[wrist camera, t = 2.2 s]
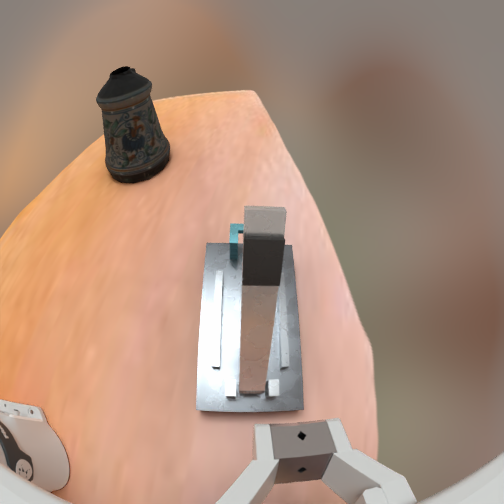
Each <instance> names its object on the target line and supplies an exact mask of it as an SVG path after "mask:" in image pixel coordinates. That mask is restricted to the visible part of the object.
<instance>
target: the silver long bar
mask: <svg viewBox="0 0 504 504" xmlns="http://www.w3.org/2000/svg"><path fill="white" fill-rule="evenodd" d="M285 222H286V210H285V207H265V206H244V233H243V261H242V293H241V327H240V366H239V394H260V393H264V392H265V384H266V378H267V371H268V364H269V357H270V349H271V342H272V335H273V327H274V319H275V311H276V303H277V295H278V287H279V286H280V281H281V273H282V264H283V255H284V246H285V239H284V232H285Z"/></svg>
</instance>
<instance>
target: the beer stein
mask: <svg viewBox="0 0 504 504" xmlns="http://www.w3.org/2000/svg"><path fill="white" fill-rule="evenodd" d="M151 89H152V83H151V81H149V80H148V79H147V78H145V77H143V76H141V75H139V74H137V73H136V72H135V69H133V68H132V69H131V68H130V67H127V66H126V67H121V68H118V69H116V70H115V71H113V72H112V73H111V74H110V78H109V80H108V81H107V83H106V84H105V85H104V86H103V87H102V89H101V90H100V92H99V93H98V96H97V98H96V101H97V103H98V105H99V107H100V108H101V109H102V117H103V126H104V136H105V146H106V158H105V163H106V167H107V169H108V171H109V172H110V173H111V175H112V177H113V178H114V179H116V180H118V181H119V182H123V183H136V182H140V181H144V180H148V179H150V178H151V177H153V176H154V175H156V174H157V173H159V172H160V171H161V170H163V168H164V167H165V165H166V164H167V162H168V161H169V151H170V144H169V142H168V140H167V138H166V137H165V136H164V134H163V132H162V130H161V127H160V124H159V120H158V117H157V114H156V111H155V108H154V105H153V102H152V100H151V97H150V92H151Z"/></svg>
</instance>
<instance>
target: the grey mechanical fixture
mask: <svg viewBox="0 0 504 504" xmlns="http://www.w3.org/2000/svg"><path fill="white" fill-rule="evenodd" d="M238 233H244V224H230V243H207V245H206V255H205V266H204V277H203V289H202V302H201V316H200V331H199V349H198V370H197V399H196V410H203V411H222V412H271V411H291V410H304V405H303V381H302V362H301V346H300V331H299V317H298V305H297V293H296V282H295V271H294V261H293V251H292V245H285V246H284V255H283V264H282V273H281V281H280V286H279V287H278V295H277V303H276V311H275V319H274V327H273V335H272V342H271V349H270V357H269V364H268V371H267V378H266V384H265V392H264V393H260V394H239V366H240V327H241V293H242V261H243V244H238Z"/></svg>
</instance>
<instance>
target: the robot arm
mask: <svg viewBox="0 0 504 504" xmlns="http://www.w3.org/2000/svg"><path fill="white" fill-rule="evenodd" d="M252 456H253V460H252V461H251V463H250V464H249V465H248V466H247V468H246V469H245V470H244V471H243V472H242V474H241V475H240V476H239V477H238V479H237V480H236V481H235V482H234V483H233V484H232V486H231V487H230V488H229V489H228V490H227V491H226V492H225V494H224V495H223V496H222V497H221V498H220V499H219V500H218V501H217V502H216V503H215V504H262V503H263V501H264V500H265V498H266V497H267V495H268V494H269V492H270V491H271V489H272V487H273V486H274V484H281V483H291V482H300V481H310V480H318V479H321V480H322V481H323V482H324V483H325V484H326V485H327V486H328V487H329V488H330V489H332V490H333V491H334V492H335V493H336V494H337V495H338V496H340V497H341V498H342V499H343V500H344V501H346V502H347V503H348V504H504V451H503V452H501V453H500V454H499V455H498V456H496V457H495V458H493V459H492V460H491V461H489V462H488V463H487V464H485V465H484V466H482V467H481V468H479V469H478V470H476V471H475V472H473V473H471V474H470V475H468V476H467V477H465V478H463V479H462V480H460V481H458V482H457V483H455V484H453V485H451V486H450V487H448V488H446V489H444V490H442V491H440V492H438V493H436V494H434V495H432V496H430V497H428V498H426V499H424V500H422V501H419V502H417V501H416V499H415V496H414V495H413V492H412V491H411V489H410V487H409V485H408V483H407V481H406V479H405V477H404V476H402V475H400V474H398V473H396V472H395V471H393V470H391V469H389V468H387V467H386V466H384V465H382V464H380V463H379V462H377V461H375V460H374V459H372V458H370V457H369V456H367V455H366V454H364V453H362V452H361V451H359V450H357V449H352V447H351V444H350V442H349V440H348V437H347V435H346V432H345V430H344V428H343V425H342V423H341V420H340V419H339V418H334V419H327V420H317V421H308V422H298V423H285V424H254V431H253V449H252ZM68 478H69V462H68V458H67V454H66V452H65V449H64V447H63V445H62V443H61V441H60V439H59V438H58V436H57V435H56V433H55V432H54V431H53V430H52V428H51V427H50V426H49V424H48V423H47V420H46V418H45V415H44V413H43V411H42V409H41V408H40V407H38V406H32V405H26V404H21V403H15V402H11V401H6V400H2V399H0V504H73V503H71V502H68V501H66V500H64V499H62V498H60V497H58V496H56V495H54V494H52V493H50V492H52V491H55V490H59V489H61V488H63V487H64V486H65V485H66V483H67V481H68Z"/></svg>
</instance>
